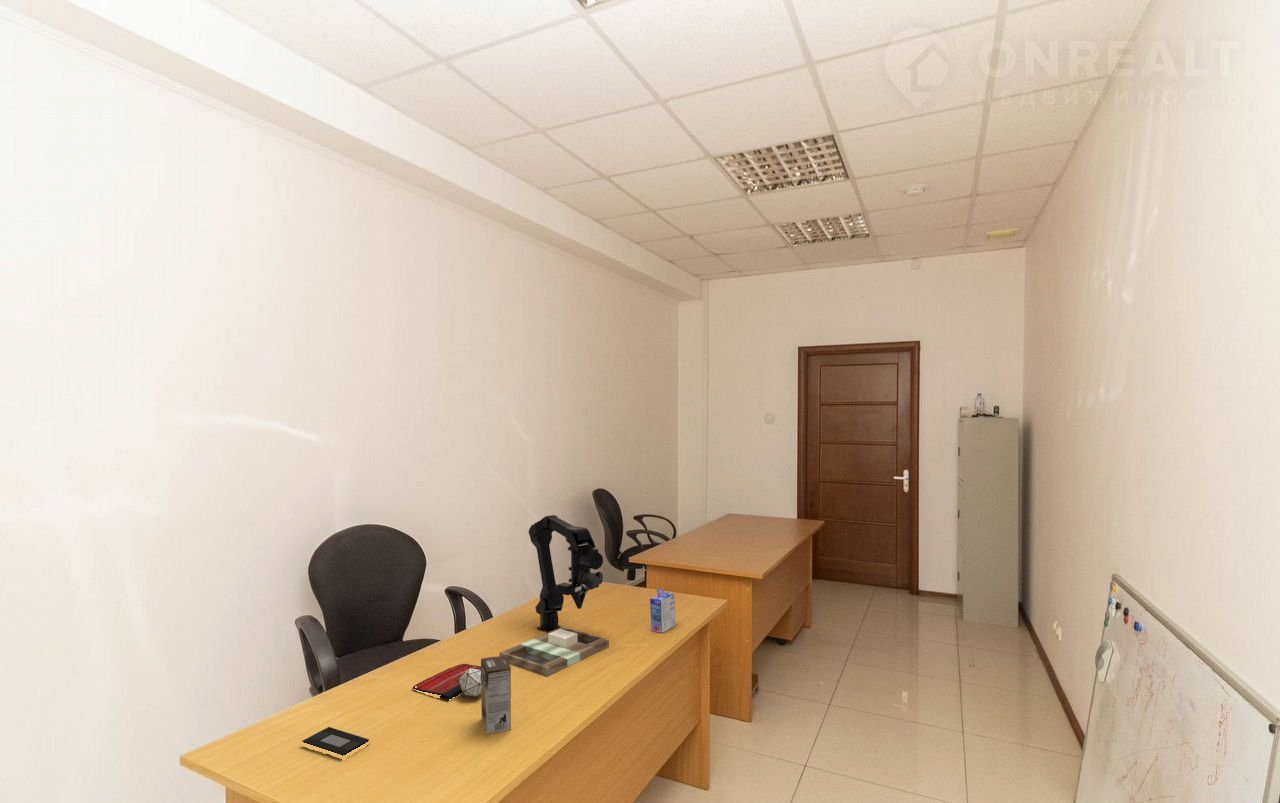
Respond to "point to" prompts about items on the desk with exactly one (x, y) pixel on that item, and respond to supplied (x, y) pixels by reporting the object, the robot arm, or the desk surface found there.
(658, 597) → the ink cartridge box
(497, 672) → the coffee box
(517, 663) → the trap deck
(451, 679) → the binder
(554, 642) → the cream block
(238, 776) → the desk surface
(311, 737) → the black computer chip
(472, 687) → the game die
